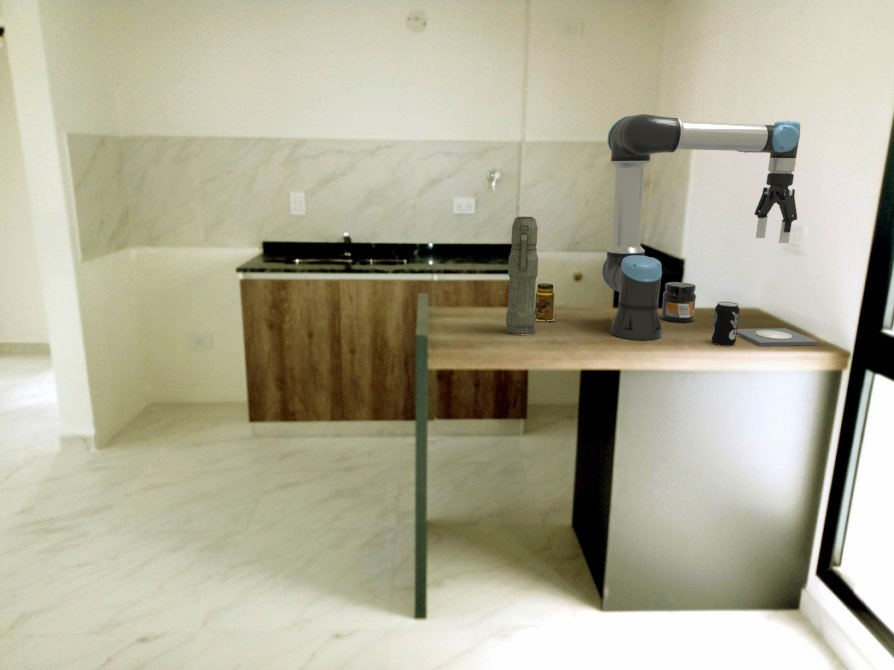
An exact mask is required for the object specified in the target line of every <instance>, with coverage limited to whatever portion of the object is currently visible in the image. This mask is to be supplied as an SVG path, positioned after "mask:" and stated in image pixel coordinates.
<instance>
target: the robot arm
mask: <svg viewBox="0 0 894 670" xmlns="http://www.w3.org/2000/svg"><path fill="white" fill-rule="evenodd" d="M607 133H608V134H607V145H608V147H609V149H610V151H611V154H610V163H611V164H612V165H613V166H614V168H615V178H614V194H613V195H614V198H613V199H614V200H613V217H612V218H613V219H612V220H613V221H612V241H611V242H612V243H611V246H609V248H607V250H606V260H604V261H603V264H602V267H601V276H602V278H603V281H604V282H605V284H606V285H607V286H608V287H609V288H610V289H612V290H613V291H616V292H618V293H619V295H618V304H617V305H618V307H617V311H616V313H615V315H614V318H613V320H612V322H611V325H610V333H611V334H612V335H613V336H615V337H617V338H621V339H627V340H634V341H635V340H637V341H650V340H652V341H653V340H656V339H660V338H661V337H662V332H663V328H662V325H661V319H660V316H659V311H658V310H659V302H660V301H659V299H660V291H661V280H662V275H663V271H662V263H661V261H660V260H658V259H657V258H655V257H652V256H651V257H649V256H648V255H645V249H644V248H643V247H642V245H641V235H642V234H641V232H642V213H643V201H644V199H643V198H644V179H645V178H644V177H645V168H646V167H647V166H648V164H650V162H651V155H653V154H662V153H672V154H673V153H675V152H677V151H678V150H693V151H695V150H699V151H700V150H702V151H728V152H731V151H732V152H733V151H735V152H739V153H753V154H755V153H756V154H758V153H761V154H762V153H763V154H764V153H769V162H768V167H767V171H768V173H767V176H766V185H767V186H769V187H766V186H765V187H763V189H762V192H761V193H762V194H761V196H760V199H759V201H758V204H757V206H756V209H755V211H754V215H755V216H756V218H758V219H757V224H756V225H757V226H756V232H755V233H756V234H755V239H765V238H766V231H767V224H768V215H769V213H770V211H771V210H772V207H774V206H775V205H774V204H777V205H778V206H779V210H780V212H781V216H782V220H781V224H780V225H781V226H780V232H779V239H778V243H779V244H789V241H790V235H791V230H792V224H793V222H794V221H797V220H798V212H797V206H796V205H797V204H796V198H795V193H796V192H795V191H796V190H795V189H794V188H789V187H791V186H792V185H793V183H794V178H795V174H794V173H793V172H795V167H796V164H797V163H796V161H797V155H798V150H799V149H798V148H799V142H800V138H801V135H800V134H801V123H800V122H799V121H796V120H789V121H788V120H786V121H785V120H783V121H782V120H781V121H780V120H779V121H776V122H774V124H756V123H754V124H752V123H750V124H749V123H726V122H725V123H724V122H723V123H722V122H698V121H697V122H696V121H681V119H680V118H679V117H669V116H668V117H667V116H660V115H655V114H653V115H652V114H647V113H646V114H645V113H641V114H636V115H635V114H634V115H626V116H623V117H622V118H620V119H618V120H616V121H615V122H614V123H613V124H612V126H611V127H610V128H609V130H608V132H607Z"/></svg>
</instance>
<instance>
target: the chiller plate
mask: <svg viewBox="0 0 894 670" xmlns="http://www.w3.org/2000/svg"><path fill="white" fill-rule="evenodd" d="M737 335H738V336H737ZM737 335H736V336H737V337H739V336H740V337H739V338H741V339H743V340H745V341H748V342H749V343H752V344H753V345H756V346H758V347H791V346H790V345H816V346H819V341H817V340H816V339H813V338H811V337H808V336H806V335H803V334H800V333H798V332H797V331H793V330H790V329H789V328H783V327H781V328H777V327H776V328H737Z"/></svg>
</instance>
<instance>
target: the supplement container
mask: <svg viewBox="0 0 894 670" xmlns="http://www.w3.org/2000/svg"><path fill="white" fill-rule="evenodd" d="M664 289H665V291H664V292H663V294H662V295H663V296H662V306H661V316H660V317H661V318H662V319H663V320H664V321H667V320H668V322H672V321H673V322H672V323H689V322H692V321H693V320H694V318H695V307H696V299H697V295H696V293H695V292H696V285H695V284H694V283H689V282H679V281H672V282H671V281H670V282H667V283H665V287H664Z"/></svg>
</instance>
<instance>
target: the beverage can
mask: <svg viewBox="0 0 894 670" xmlns="http://www.w3.org/2000/svg"><path fill="white" fill-rule="evenodd" d="M739 317H740V307H739V303H737V302H733V301H717V304H716V306H715V308H714V317H713V324H712V333H711V341H712V343H713V342H714V343H713V344H715V343H716V344H715V345H717V344H720V345H719V346H722V345H731V346H734V344H736V342H737V329H738V326H739V319H740V318H739Z"/></svg>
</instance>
